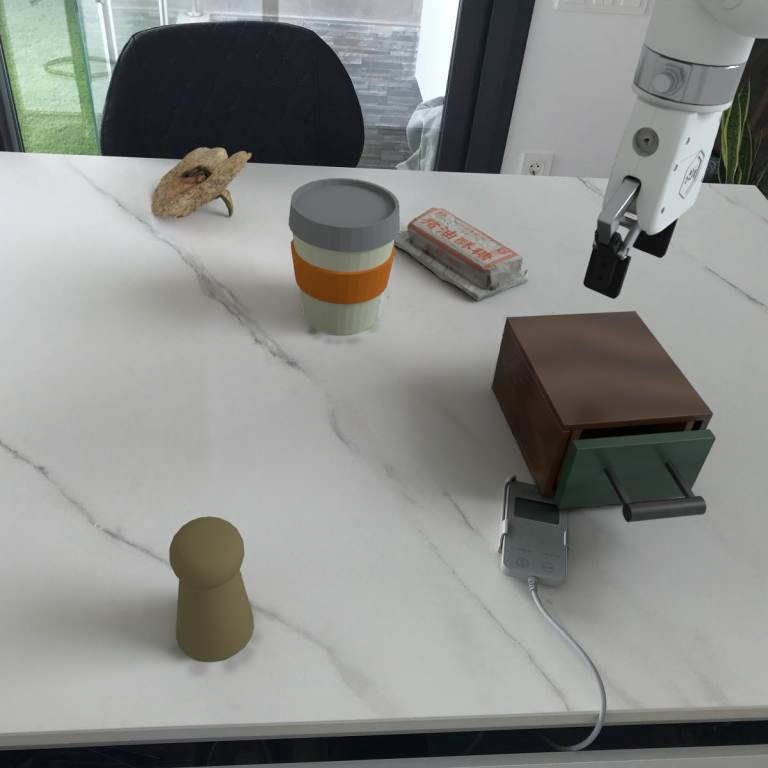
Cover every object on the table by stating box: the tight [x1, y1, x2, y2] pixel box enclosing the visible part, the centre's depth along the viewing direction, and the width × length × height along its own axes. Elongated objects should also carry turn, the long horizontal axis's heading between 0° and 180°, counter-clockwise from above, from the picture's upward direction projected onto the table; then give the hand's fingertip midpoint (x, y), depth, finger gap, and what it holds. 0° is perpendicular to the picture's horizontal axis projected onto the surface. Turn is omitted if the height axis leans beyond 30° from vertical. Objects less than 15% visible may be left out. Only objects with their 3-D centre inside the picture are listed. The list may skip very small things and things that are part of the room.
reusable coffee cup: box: [288, 177, 401, 336], centre depth 90 cm, size 13×13×15 cm
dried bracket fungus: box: [150, 146, 252, 220], centre depth 112 cm, size 18×14×8 cm
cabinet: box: [490, 310, 714, 500], centre depth 78 cm, size 17×15×10 cm
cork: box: [168, 515, 255, 663], centre depth 57 cm, size 6×6×11 cm
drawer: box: [553, 421, 717, 523], centre depth 74 cm, size 21×13×8 cm, turn 11°
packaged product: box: [394, 207, 529, 302], centre depth 105 cm, size 18×5×10 cm
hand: (624, 270), depth 69 cm, fingers open, 9 cm apart
